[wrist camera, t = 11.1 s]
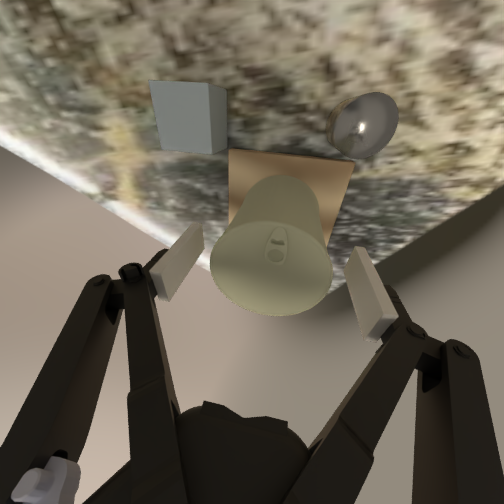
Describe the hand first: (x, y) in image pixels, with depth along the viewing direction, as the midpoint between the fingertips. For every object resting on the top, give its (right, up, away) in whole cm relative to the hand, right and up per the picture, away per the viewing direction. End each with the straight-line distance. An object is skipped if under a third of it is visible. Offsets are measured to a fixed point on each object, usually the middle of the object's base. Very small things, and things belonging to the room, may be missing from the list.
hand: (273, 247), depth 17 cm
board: (+2, +5, +8) cm, 9 cm away
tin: (+7, +12, +2) cm, 14 cm away
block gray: (-7, +14, +4) cm, 16 cm away
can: (+2, +4, +7) cm, 8 cm away
